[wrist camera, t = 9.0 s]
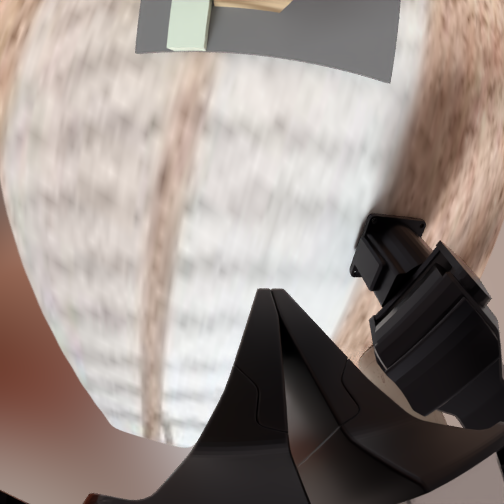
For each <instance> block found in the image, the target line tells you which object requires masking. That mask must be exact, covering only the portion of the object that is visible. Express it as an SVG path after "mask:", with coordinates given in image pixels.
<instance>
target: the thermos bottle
mask: <svg viewBox="0 0 504 504" xmlns="http://www.w3.org/2000/svg"><path fill="white" fill-rule="evenodd" d="M359 368H360V371H361V372H362V373H363V374H364V375H365V376H366V377H367V378H368V379H369V380H370V381H372V382H373V383H374V384H375V385H376V386H377V387H378V388H379V389H380V390H382V391H383V392H384V393H385V394H386V395H387V396H389V397H390V398H391V399H392V400H393V401H395V402H396V403H397V404H398V405H399V406H400V407H402V408H403V409H404V410H405V411H407V412H408V413H409V414H411V415H412V416H414V417H416V418H418V419H421V420H424V421H429V422H433V423H438V424H443V425H447V423H446V420H445V418H444V416H443V413H442V412H440V411H437V410H435V411H434V412H432V413H431V414H429V415H428V416H426V417H424V416H422V415H420V414H418V413H417V412H415V411H413V409H412V408H411V406H410V404H409V403H408V401H407V399H406V398H405V396H404V394H403V393H402V391H401V390H400V389H399V388H398V386H397V385H396V384H395V383H394V382H393V381H392V380H391V379H390V378H389V377H388V376H386V375H385V373H384V372H383V370H382V369H381V368H380V366H379V365H378V364H377V362H376V358H375V354H374V347H371V348H370V349H369V350H367V351H366V352H365V353H364V354H363V355H362V357H361V358H360V360H359Z"/></svg>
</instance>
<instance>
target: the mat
mask: <svg viewBox="0 0 504 504" xmlns="http://www.w3.org/2000/svg"><path fill="white" fill-rule="evenodd" d="M171 4H172V0H141V4H140V11H139V19H138V28H137V38H136V49H135V53H137V54H143V53H158V52H222V53H238V54H249V55H259V56H268V57H275V58H282V59H289V60H295V61H301V62H306V63H311V64H317V65H321V66H326V67H330V68H335V69H339V70H343V71H347V72H351V73H355V74H358V75H362V76H365V77H369V78H372V79H375V80H379V81H382V82H385V83H390V82H391V76H392V70H393V63H394V56H395V49H396V41H397V33H398V23H399V13H400V0H293V1H292V2H291V3H290V4H289V5H287V6H286V7H285V8H284V9H283V10H282V11H281V12H280V13H278V12H271V11H264V10H256V9H247V8H235V7H219V6H214V0H212V7H211V14H210V22H209V31H208V40H207V49H206V51H173V50H171V49H168V48H167V38H168V28H169V20H170V12H171Z"/></svg>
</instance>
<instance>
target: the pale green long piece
mask: <svg viewBox="0 0 504 504" xmlns="http://www.w3.org/2000/svg"><path fill="white" fill-rule="evenodd" d="M211 7H212V0H172V4H171V12H170V20H169V28H168V38H167V48H168V49H171V50H173V51H206V49H207V40H208V31H209V22H210V14H211Z"/></svg>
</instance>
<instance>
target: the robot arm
mask: <svg viewBox="0 0 504 504" xmlns="http://www.w3.org/2000/svg"><path fill="white" fill-rule="evenodd" d="M374 218H375V220H374V221H372V220H373V219H374ZM425 227H426V223H425V221H424V220H422V219H417V218H409V217H400V216H392V215H383V214H371V215H369V216H368V218H367V221H366V225H365V228H364V231H363V234H362V237H361V238H360V240H359V243H358V246H357V249H356V252H355V255H354V258H353V263H352V266H351V269H350V274H351V276H352V277H362V278H363V280H364V282H365V283H366V285H367V287H368V289H369V290H370V291H373V292H374V293H375V295H376V297H377V299H378V301H379V302H380V304H381V306H382V307H383V308H382V309H381V310H380V311H379V312H378V313H377V314H376V315H373V316H372V317H371V318H370V319H369V323H370V328H371V334H372V341H373V347H374V354H375V358H376V362H377V364H378V365H379V366H380V368H381V369H382V370H383V372H384V373H385V375H386V376H388V377H389V378H390V379H391V380H392V381H393V382H394V383H395V384H396V385H397V386H398V388H399V389H400V390H401V391H402V393H403V394H404V396H405V398H406V399H407V401H408V403H409V404H410V406H411V408H412V409H413V411H415V412H417V413H418V414H420V415H422V416H424V417H426V416H428V415H429V414H431V413H432V412H434V411H435V410H437V411H440V412H444V413H447V414H450V415H453V416H455V417H456V418H457V419H458V421H459V422H460V424H461V425H462V427H463V428H460V427H454V426H449V425H443V424H438V423H433V422H429V421H424V420H421V419H418V418H416V417H414V416H412V415H411V414H409V413H408V412H407V411H405V410H404V409H403V408H402V407H400V406H399V405H398V404H397V403H396V402H395V401H393V400H392V399H391V398H390V397H389V396H387V395H386V394H385V393H384V392H383V391H382V390H380V389H379V388H378V387H377V386H376V385H375V384H374V383H373V382H372V381H370V380H369V379H368V378H367V377H366V376H365V375H364V374H363V373H362V372H361V371H360V370H359V369H358V368H357V367H356V366H355V365H354V364H353V363H352V361H351V360H350V359H348V357H347V356H346V355H345V354H344V353H343V352H342V351H341V350H340V349H339V348H338V347H337V346H336V344H335V343H334V342H333V341H332V340H331V339H330V338H329V337H328V336H327V335H326V334H325V333H324V332H323V331H322V329H321V328H320V327H319V326H318V325H317V324H316V323H315V322H314V321H313V320H312V319H311V318H310V317H309V316H308V314H307V313H306V312H305V311H304V310H303V309H302V308H301V307H300V306H299V305H298V304H297V303H296V302H295V300H294V299H293V298H292V297H291V296H290V295H289V294H288V293H287V292H286V291H285V290H284V289H271V290H270V289H268V288H259V289H257V292H256V295H255V298H254V301H253V305H252V308H251V311H250V314H249V317H248V321H247V324H246V327H245V330H244V333H243V336H242V339H241V343H240V346H239V349H238V352H237V355H236V358H235V361H234V364H233V367H232V370H231V373H230V376H229V379H228V382H227V384H226V387H225V390H224V392H223V394H222V396H221V398H220V400H219V402H218V404H217V406H216V408H215V410H214V412H213V414H212V416H211V417H210V419H209V421H208V423H207V425H206V427H205V428H204V430H203V432H202V434H201V436H200V438H199V439H198V441H197V443H196V444H195V446H194V447H193V449H192V451H191V452H190V453H189V455H188V456H187V457H186V458H185V460H184V461H183V462H182V463H181V464H180V465H179V466H178V468H177V469H176V470H175V471H174V472H173V473H172V474H171V475H170V477H169V478H168V479H167V480H166V481H165V482H164V483H163V484H162V485H161V487H160V488H159V489H158V490H157V491H156V492H155V493H153V494H152V495H151V496H149V497H147V498H144V499H140V500H128V499H123V498H117V497H112V496H107V495H102V494H95V493H91V494H89V495H88V496H87V498H86V499H85V501H84V503H83V504H504V365H503V363H502V355H501V343H500V333H499V326H498V320H497V318H496V317H495V315H494V314H493V313H492V312H491V310H490V309H489V307H488V306H487V304H488V302H489V301H490V300H491V299H492V298H491V296H490V295H489V293H488V292H487V290H486V289H485V287H484V285H483V284H482V282H481V281H480V279H479V278H478V277H477V276H476V274H475V273H474V272H473V271H472V270H471V269H470V268H469V267H468V265H467V264H466V263H465V262H464V261H463V260H462V259H461V258H460V257H459V256H457V255H456V254H455V253H454V252H453V251H452V250H451V249H450V248H449V247H447V246H446V245H445V244H444V243H443V242H442V241H441V240H440V241H439V242H438V243H437V245H436V246H437V247H436V248H435V249H434V250H432V249H431V248H430V247H429V246H428V245H427V244H426V243H425V242H424V240H423V239H422V238H421V236H422V234H423V232H424V229H425ZM355 271H356V272H355ZM347 359H348V360H347ZM0 504H29V503H27V502H25V501H22V500H20V499H18V498H16V497H14V496H12V495H10V494H8V493H6V492H4V491H2V490H0Z"/></svg>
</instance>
